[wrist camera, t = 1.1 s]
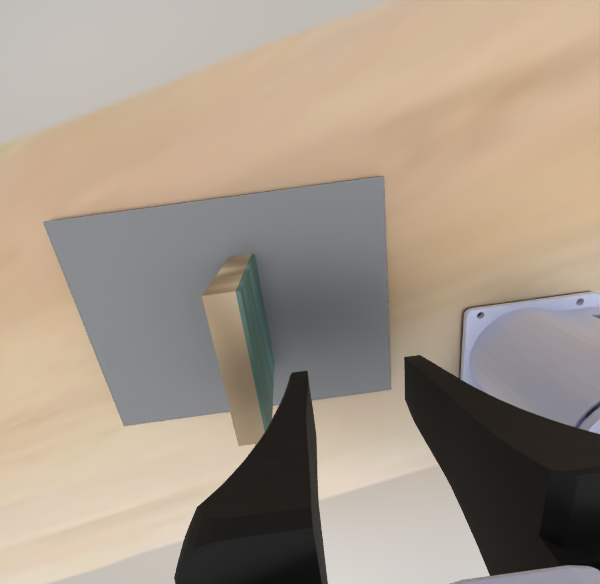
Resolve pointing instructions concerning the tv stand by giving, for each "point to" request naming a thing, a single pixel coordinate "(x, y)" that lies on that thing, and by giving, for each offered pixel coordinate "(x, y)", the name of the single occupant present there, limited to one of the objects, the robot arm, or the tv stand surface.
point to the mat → (200, 273)
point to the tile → (242, 345)
